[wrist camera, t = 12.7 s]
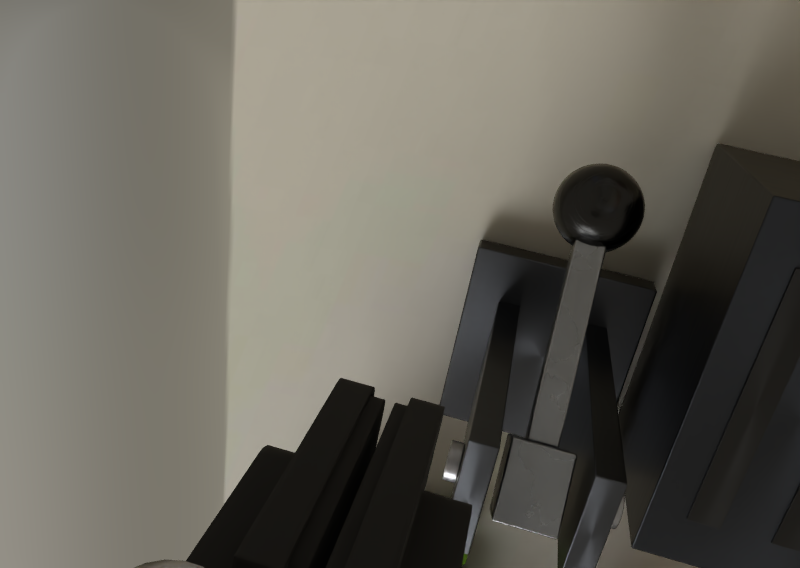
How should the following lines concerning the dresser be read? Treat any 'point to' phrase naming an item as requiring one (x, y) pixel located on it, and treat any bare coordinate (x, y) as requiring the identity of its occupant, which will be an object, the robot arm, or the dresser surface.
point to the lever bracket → (518, 379)
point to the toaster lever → (565, 347)
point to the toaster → (723, 379)
